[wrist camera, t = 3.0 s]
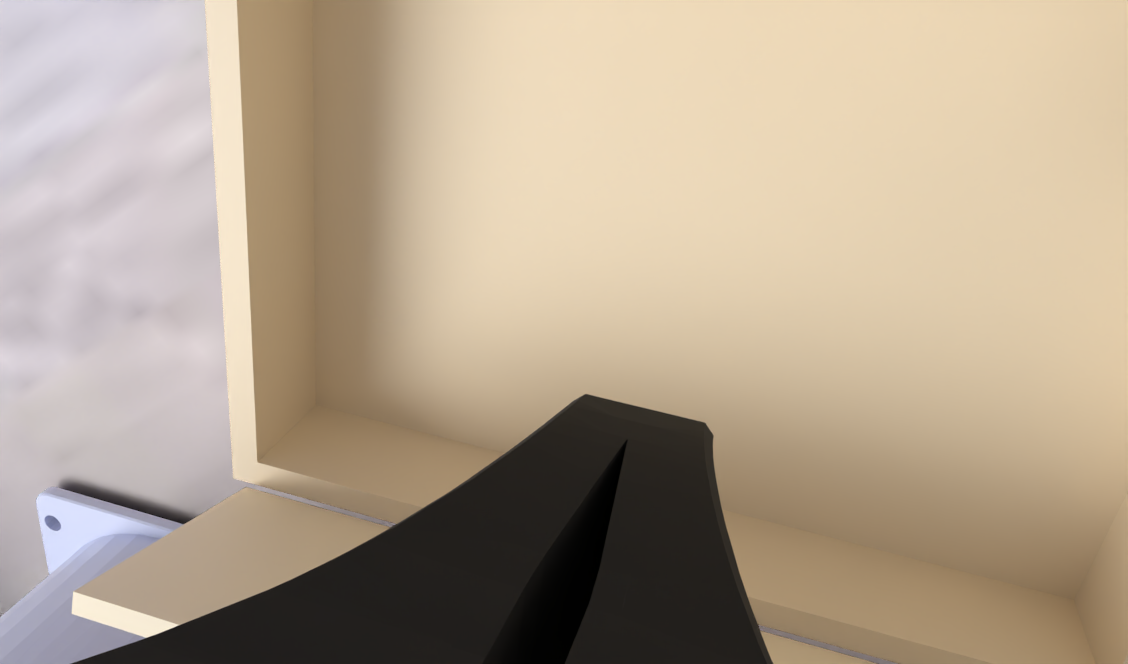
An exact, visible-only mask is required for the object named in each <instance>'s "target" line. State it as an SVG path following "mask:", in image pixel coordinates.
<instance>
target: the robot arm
mask: <svg viewBox="0 0 1128 664" xmlns="http://www.w3.org/2000/svg"><path fill="white" fill-rule="evenodd" d="M713 438H714V435H713V434H712V432H711V431H710V429H709V428H708V426H707V425H706V423H705V422H701V421H697V420H692V419H688V418H684V417H680V416H676V415H672V414H667V413H663V412H659V411H655V410H651V409H647V408H643V407H638V406H634V405H630V404H626V403H622V402H618V401H613V400H609V399H605V398H601V397H597V396H593V395H589V394H584V395H583V396H581V397H579V398H577V399H576V400H574V401H572V402H571V403H570V404H569V405H567V406H566V407H565V408H564V409H562V410H561V411H560V412H559V413H557V414H556V415H555V416H554V417H552V418H551V419H550V420H548V421H547V422H546V423H545V424H543V425H542V426H541V427H539V428H538V429H537V430H536V431H534V432H533V433H532V434H530V435H529V436H528V437H526V438H525V439H524V440H522V441H521V442H520V443H518V444H517V445H516V446H514V447H513V448H512V449H510V450H509V451H508V452H506V453H505V454H503V455H502V456H500V457H499V458H498V459H496V460H495V461H493V462H492V463H490V464H489V465H488V466H486V467H485V468H483V469H482V470H480V471H479V472H478V473H476V474H475V475H473V476H472V477H470V478H469V479H468V480H466V481H465V482H463V483H462V484H460V485H459V486H457V487H456V488H454V489H453V490H451V491H450V492H448V493H447V494H445V495H443V496H442V497H440V498H438V499H437V500H435V501H433V502H432V503H430V504H429V505H427V506H425V507H424V508H422V509H420V510H419V511H417V512H415V513H414V514H412V515H411V516H409V517H407V518H406V519H404V520H402V521H401V522H399V523H397V524H396V525H394V526H392V527H391V528H389V529H388V530H386V531H384V532H382V533H381V534H379V535H377V536H375V537H373V538H372V539H370V540H368V541H366V542H364V543H362V544H361V545H359V546H357V547H355V548H353V549H351V550H350V551H348V552H346V553H344V554H342V555H340V556H338V557H336V558H334V559H332V560H330V561H328V562H326V563H324V564H322V565H320V566H318V567H316V568H314V569H312V570H310V571H308V572H306V573H304V574H302V575H299V576H297V577H295V578H293V579H291V580H289V581H287V582H284V583H282V584H280V585H278V586H275V587H273V588H271V589H269V590H266V591H264V592H261V593H259V594H256V595H254V596H251V597H249V598H246V599H244V600H241V601H239V602H236V603H234V604H231V605H229V606H226V607H224V608H221V609H219V610H216V611H214V612H211V613H209V614H206V615H204V616H201V617H199V618H196V619H194V620H191V621H189V622H186V623H184V624H181V625H179V626H176V627H174V628H171V629H169V630H166V631H163V632H161V633H158V634H156V635H153V636H150V637H147V638H146V637H142V636H139V635H136V634H133V633H130V632H127V631H124V630H121V629H117V628H114V627H111V626H108V625H105V624H102V623H99V622H96V621H92V620H89V619H86V618H83V617H80V616H77V615H74V614H72V600H73V591H75V590H76V589H78V588H80V587H81V586H83V585H85V584H86V583H88V582H90V581H91V580H93V579H95V578H96V577H98V576H100V575H101V574H103V573H105V572H106V571H108V570H110V569H111V568H113V567H114V566H116V565H118V564H119V563H121V562H123V561H124V560H126V559H128V558H129V557H131V556H133V555H134V554H136V553H138V552H139V551H141V550H143V549H144V548H146V547H147V546H149V545H151V544H152V543H154V542H156V541H157V540H159V539H161V538H162V537H164V536H166V535H167V534H169V533H171V532H172V531H174V530H176V529H177V528H179V527H181V526H182V525H184V524H181V523H178V522H174V521H171V520H167V519H164V518H160V517H157V516H154V515H150V514H147V513H143V512H140V511H136V510H133V509H130V508H126V507H123V506H119V505H116V504H112V503H109V502H106V501H102V500H99V499H95V498H92V497H88V496H85V495H82V494H78V493H75V492H71V491H68V490H64V489H61V488H58V487H50V488H47V489H46V490H44V491H43V492H42V493H40V494H39V495H38V497H37V498H36V505H37V511H38V516H39V522H40V527H41V533H42V538H43V543H44V549H45V554H46V560H47V565H48V571H49V576H47V577H46V578H45V579H44V580H43V581H42V582H41V583H39V584H38V585H37V586H36V587H35V588H34V589H32V590H31V591H30V592H29V593H28V594H27V595H25V596H24V597H23V598H22V599H21V600H20V601H18V602H17V603H16V604H15V605H14V606H13V607H12V608H10V609H9V610H8V611H7V612H6V613H5V614H3V615H2V616H1V617H0V664H773V662H772V660H771V657H770V655H769V652H768V650H767V647H766V645H765V642H764V640H763V637H762V634H761V632H760V629H759V626H758V624H757V621H756V618H755V616H754V613H753V610H752V608H751V605H750V602H749V600H748V597H747V594H746V591H745V588H744V585H743V582H742V579H741V576H740V573H739V569H738V566H737V562H736V559H735V555H734V552H733V548H732V545H731V541H730V538H729V534H728V531H727V528H726V524H725V520H724V515H723V511H722V507H721V502H720V497H719V492H718V487H717V482H716V475H715V468H714V459H713Z"/></svg>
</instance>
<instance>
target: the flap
mask: <svg viewBox="0 0 1128 664" xmlns="http://www.w3.org/2000/svg"><path fill="white" fill-rule="evenodd" d="M389 528H391V527H387V526H384V525H380V524H377V523H373V522H370V521H366V520H362V519H359V518H355V517H352V516H348V515H345V514H341V513H337V512H334V511H330V510H327V509H323V508H319V507H316V506H312V505H309V504H305V503H302V502H298V501H294V500H291V499H287V498H284V497H280V496H277V495H273V494H269V493H266V492H262V491H259V490H255V489H252V488H248V487H245V488H243V489H242V490H240V491H238V492H237V493H235V494H233V495H232V496H230V497H228V498H227V499H225V500H223V501H222V502H220V503H219V504H217V505H215V506H214V507H212V508H210V509H209V510H207V511H205V512H204V513H202V514H200V515H199V516H197V517H195V518H194V519H192V520H190V521H189V522H187V523H185V524H184V525H182V526H181V527H179V528H177V529H176V530H174V531H172V532H171V533H169V534H167V535H166V536H164V537H162V538H161V539H159V540H157V541H156V542H154V543H152V544H151V545H149V546H147V547H146V548H144V549H143V550H141V551H139V552H138V553H136V554H134V555H133V556H131V557H129V558H128V559H126V560H124V561H123V562H121V563H119V564H118V565H116V566H114V567H113V568H111V569H110V570H108V571H106V572H105V573H103V574H101V575H100V576H98V577H96V578H95V579H93V580H91V581H90V582H88V583H86V584H85V585H83V586H81V587H80V588H78V589H76V590H75V591H73V600H72V614H74V615H77V616H80V617H83V618H86V619H89V620H92V621H96V622H99V623H102V624H105V625H108V626H111V627H114V628H117V629H121V630H124V631H127V632H130V633H133V634H136V635H139V636H142V637H146V638H147V637H150V636H153V635H156V634H158V633H161V632H163V631H166V630H169V629H171V628H174V627H176V626H179V625H181V624H184V623H186V622H189V621H191V620H194V619H196V618H199V617H201V616H204V615H206V614H209V613H211V612H214V611H216V610H219V609H221V608H224V607H226V606H229V605H231V604H234V603H236V602H239V601H241V600H244V599H246V598H249V597H251V596H254V595H256V594H259V593H261V592H264V591H266V590H269V589H271V588H273V587H275V586H278V585H280V584H282V583H284V582H287V581H289V580H291V579H293V578H295V577H297V576H299V575H302V574H304V573H306V572H308V571H310V570H312V569H314V568H316V567H318V566H320V565H322V564H324V563H326V562H328V561H330V560H332V559H334V558H336V557H338V556H340V555H342V554H344V553H346V552H348V551H350V550H351V549H353V548H355V547H357V546H359V545H361V544H362V543H364V542H366V541H368V540H370V539H372V538H373V537H375V536H377V535H379V534H381V533H382V532H384V531H386V530H388V529H389ZM760 632H761V634H762V637H763V640H764V642H765V645H766V647H767V650H768V652H769V655H770V657H771V660H772V662H773V664H878V663H874V662H870V661H867V660H863V659H860V658H856V657H853V656H849V655H845V654H842V653H838V652H835V651H831V650H828V649H824V648H820V647H817V646H813V645H810V644H806V643H802V642H799V641H795V640H792V639H788V638H785V637H781V636H777V635H774V634H770V633H767V632H763V631H760Z"/></svg>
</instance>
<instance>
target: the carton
mask: <svg viewBox="0 0 1128 664" xmlns="http://www.w3.org/2000/svg"><path fill="white" fill-rule="evenodd" d="M205 14H206V31H207V47H208V64H209V81H210V98H211V115H212V131H213V148H214V165H215V182H216V199H217V215H218V232H219V249H220V266H221V283H222V299H223V316H224V333H225V350H226V366H227V383H228V400H229V417H230V434H231V450H232V467H233V478H234V479H237V480H241V481H244V482H248V483H252V484H255V485H259V486H262V487H266V488H270V489H273V490H277V491H280V492H284V493H288V494H291V495H295V496H298V497H302V498H306V499H309V500H313V501H316V502H320V503H324V504H327V505H331V506H334V507H338V508H341V509H345V510H349V511H352V512H356V513H359V514H363V515H367V516H370V517H374V518H377V519H381V520H385V521H388V522H392V523H395V524H397V523H399V522H401V521H402V520H404V519H406V518H407V517H409V516H411V515H412V514H414V513H415V512H417V511H419V510H420V509H422V508H424V507H425V506H427V505H429V504H430V503H432V502H433V501H435V500H437V499H438V498H440V497H442V496H443V495H445V494H447V493H448V492H450V491H451V490H453V489H454V488H456V487H457V486H459V485H460V484H462V483H463V482H465V481H466V480H468V479H469V478H470V477H472V476H473V475H475V474H476V473H478V472H479V471H480V470H482V469H483V468H485V467H486V466H488V465H489V464H490V463H492V462H493V461H495V460H496V459H498V458H499V457H500V456H502V455H503V454H505V453H506V452H508V451H509V450H510V449H512V448H513V447H514V446H516V445H517V444H518V443H520V442H521V441H522V440H524V439H525V438H526V437H528V436H529V435H530V434H532V433H533V432H534V431H536V430H537V429H538V428H539V427H541V426H542V425H543V424H545V423H546V422H547V421H548V420H550V419H551V418H552V417H554V416H555V415H556V414H557V413H559V412H560V411H561V410H562V409H564V408H565V407H566V406H567V405H569V404H570V403H571V402H572V401H574V400H576V399H577V398H579V397H581V396H583V395H584V394H589V395H593V396H597V397H601V398H605V399H609V400H613V401H618V402H622V403H626V404H630V405H634V406H638V407H643V408H647V409H651V410H655V411H659V412H663V413H667V414H672V415H676V416H680V417H684V418H688V419H692V420H697V421H701V422H705V423H706V425H707V426H708V428H709V429H710V431H711V432H712V434H713V435H714V438H713V459H714V468H715V475H716V482H717V487H718V492H719V497H720V502H721V507H722V511H723V515H724V520H725V524H726V528H727V531H728V534H729V538H730V541H731V545H732V548H733V552H734V555H735V559H736V562H737V566H738V569H739V573H740V576H741V579H742V582H743V585H744V588H745V591H746V594H747V597H748V600H749V602H750V605H751V608H752V610H753V613H754V616H755V618H756V621H757V624H758V625H762V626H765V627H769V628H773V629H776V630H780V631H783V632H787V633H790V634H794V635H798V636H801V637H805V638H808V639H812V640H816V641H819V642H823V643H826V644H830V645H834V646H837V647H841V648H844V649H848V650H852V651H855V652H859V653H862V654H866V655H869V656H873V657H877V658H880V659H884V660H887V661H891V662H895V663H898V664H1128V0H205Z"/></svg>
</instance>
